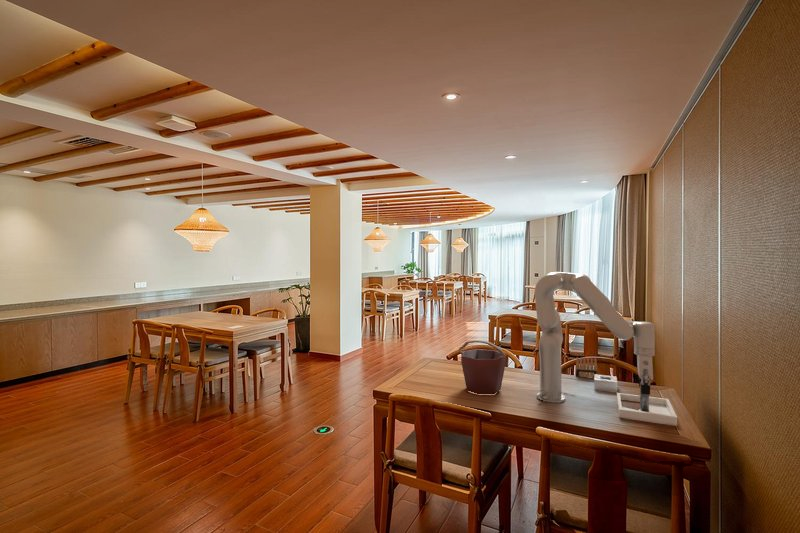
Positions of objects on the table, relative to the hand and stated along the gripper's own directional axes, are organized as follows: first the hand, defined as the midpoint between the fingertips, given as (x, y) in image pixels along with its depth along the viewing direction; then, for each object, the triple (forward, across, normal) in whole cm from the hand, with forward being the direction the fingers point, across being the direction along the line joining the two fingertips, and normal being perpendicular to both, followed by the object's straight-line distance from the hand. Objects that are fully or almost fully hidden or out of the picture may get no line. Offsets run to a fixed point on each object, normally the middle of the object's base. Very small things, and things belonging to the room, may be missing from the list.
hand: (644, 390), depth 169 cm
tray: (+9, 0, 0) cm, 9 cm away
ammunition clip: (+10, +40, +24) cm, 48 cm away
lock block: (+9, +24, +14) cm, 30 cm away
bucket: (+10, 0, +70) cm, 71 cm away
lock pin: (+8, 0, 0) cm, 8 cm away
